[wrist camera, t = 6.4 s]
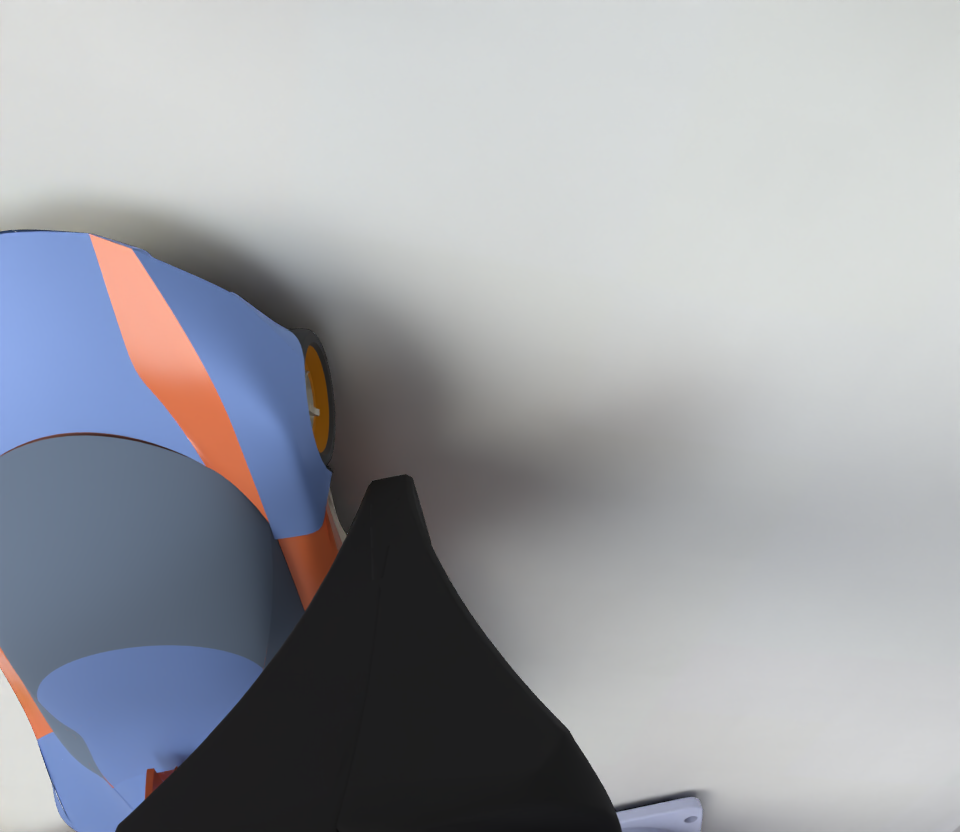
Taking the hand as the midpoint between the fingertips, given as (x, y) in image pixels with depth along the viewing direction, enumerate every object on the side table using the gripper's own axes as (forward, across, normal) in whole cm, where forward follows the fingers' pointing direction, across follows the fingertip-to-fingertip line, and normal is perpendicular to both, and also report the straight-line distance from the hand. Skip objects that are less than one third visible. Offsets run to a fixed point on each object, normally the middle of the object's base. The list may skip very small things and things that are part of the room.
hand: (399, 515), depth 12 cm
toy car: (+2, +5, +1) cm, 5 cm away
